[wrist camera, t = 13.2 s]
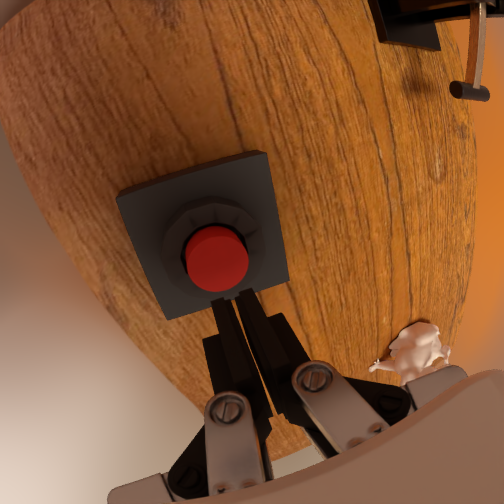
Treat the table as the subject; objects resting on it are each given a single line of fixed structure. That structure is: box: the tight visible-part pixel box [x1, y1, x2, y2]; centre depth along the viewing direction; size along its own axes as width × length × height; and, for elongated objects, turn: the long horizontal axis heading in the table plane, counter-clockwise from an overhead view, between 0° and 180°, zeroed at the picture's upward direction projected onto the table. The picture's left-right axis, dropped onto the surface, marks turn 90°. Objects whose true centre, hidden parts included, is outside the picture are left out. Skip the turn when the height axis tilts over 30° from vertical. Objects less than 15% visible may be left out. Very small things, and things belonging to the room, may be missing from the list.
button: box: [185, 226, 249, 292], centre depth 17 cm, size 4×4×2 cm
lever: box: [449, 0, 496, 102], centre depth 11 cm, size 12×5×2 cm, turn 12°
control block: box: [116, 150, 290, 320], centre depth 19 cm, size 10×10×4 cm
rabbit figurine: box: [369, 322, 451, 386], centre depth 31 cm, size 12×8×10 cm, turn 106°
